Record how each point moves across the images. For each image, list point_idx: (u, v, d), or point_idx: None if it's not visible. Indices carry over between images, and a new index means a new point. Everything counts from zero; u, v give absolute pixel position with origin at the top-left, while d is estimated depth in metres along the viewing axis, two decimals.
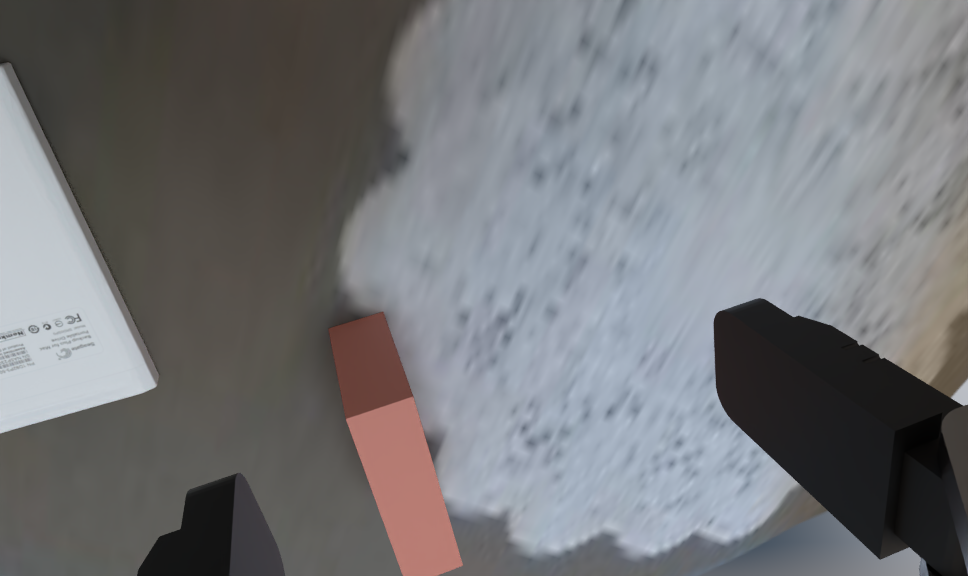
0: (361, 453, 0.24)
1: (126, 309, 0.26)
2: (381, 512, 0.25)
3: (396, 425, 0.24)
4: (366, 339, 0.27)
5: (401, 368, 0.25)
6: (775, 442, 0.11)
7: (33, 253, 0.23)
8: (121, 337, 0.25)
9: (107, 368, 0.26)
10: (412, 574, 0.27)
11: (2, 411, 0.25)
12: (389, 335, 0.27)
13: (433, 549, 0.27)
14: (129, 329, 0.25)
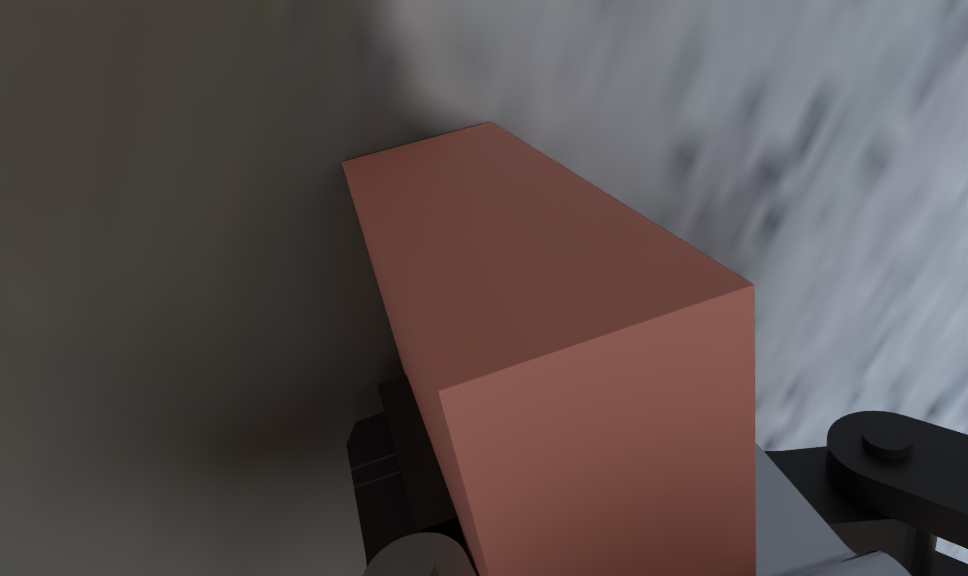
0: (496, 556, 0.05)
1: None
2: None
3: (657, 428, 0.05)
4: (460, 167, 0.09)
5: (625, 210, 0.07)
6: None
7: None
8: None
9: None
10: None
11: None
12: (533, 152, 0.09)
13: None
14: None
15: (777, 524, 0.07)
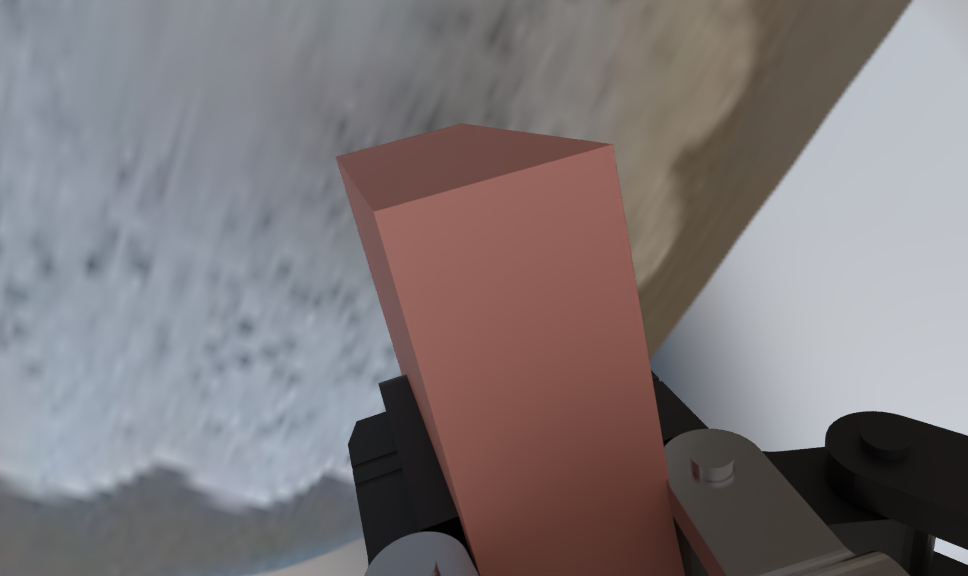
0: (429, 368, 0.07)
1: None
2: None
3: (551, 263, 0.07)
4: (427, 143, 0.11)
5: (541, 136, 0.08)
6: None
7: None
8: None
9: None
10: None
11: None
12: (487, 128, 0.11)
13: None
14: None
15: (775, 524, 0.07)
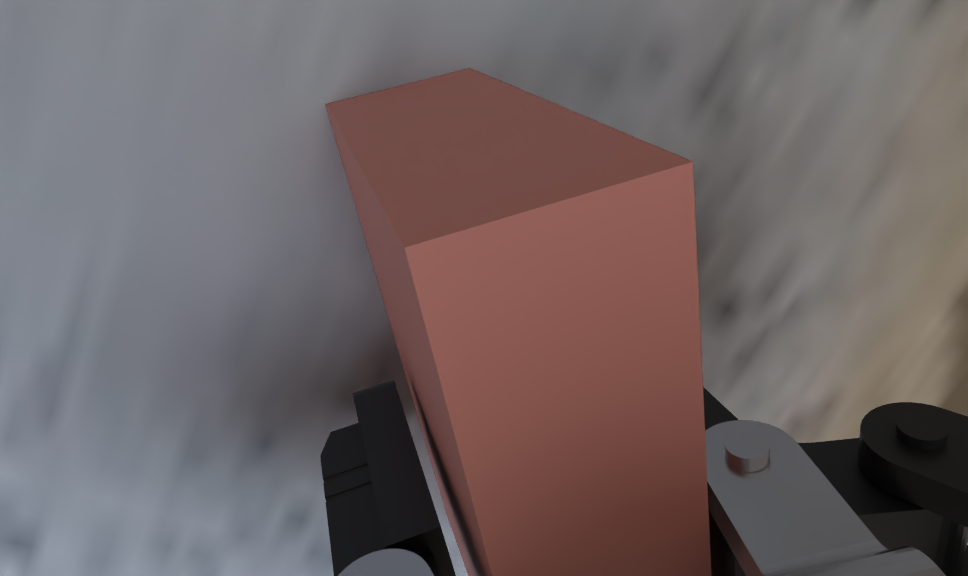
0: (461, 418, 0.06)
1: None
2: None
3: (608, 298, 0.06)
4: (437, 101, 0.09)
5: (585, 120, 0.07)
6: None
7: None
8: None
9: None
10: None
11: None
12: (506, 86, 0.09)
13: None
14: None
15: (809, 516, 0.07)
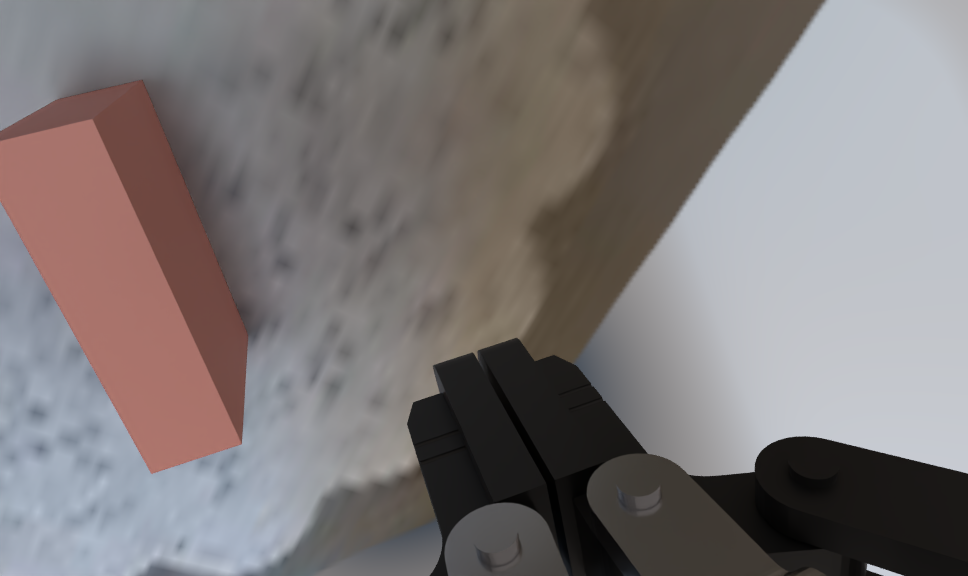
0: (16, 220, 0.15)
1: None
2: (77, 336, 0.16)
3: (71, 173, 0.15)
4: (92, 97, 0.18)
5: (107, 105, 0.16)
6: None
7: None
8: None
9: None
10: (156, 452, 0.18)
11: None
12: (126, 90, 0.18)
13: (185, 410, 0.18)
14: None
15: (708, 548, 0.07)
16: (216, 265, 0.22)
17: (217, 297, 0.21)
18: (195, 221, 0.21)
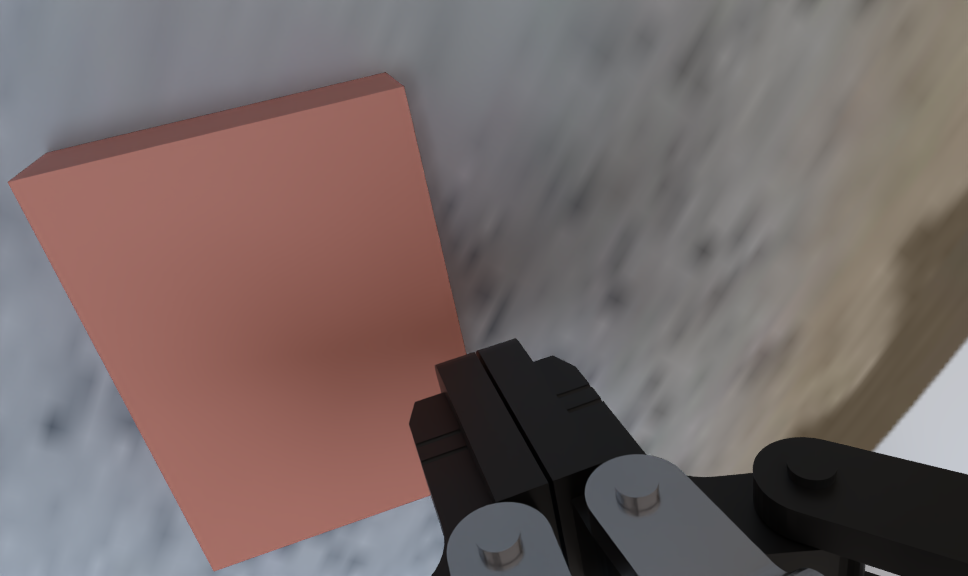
0: None
1: None
2: None
3: None
4: (295, 102, 0.12)
5: (130, 151, 0.11)
6: None
7: None
8: None
9: None
10: None
11: None
12: (283, 114, 0.11)
13: None
14: None
15: (706, 550, 0.07)
16: None
17: (377, 415, 0.14)
18: (415, 311, 0.14)
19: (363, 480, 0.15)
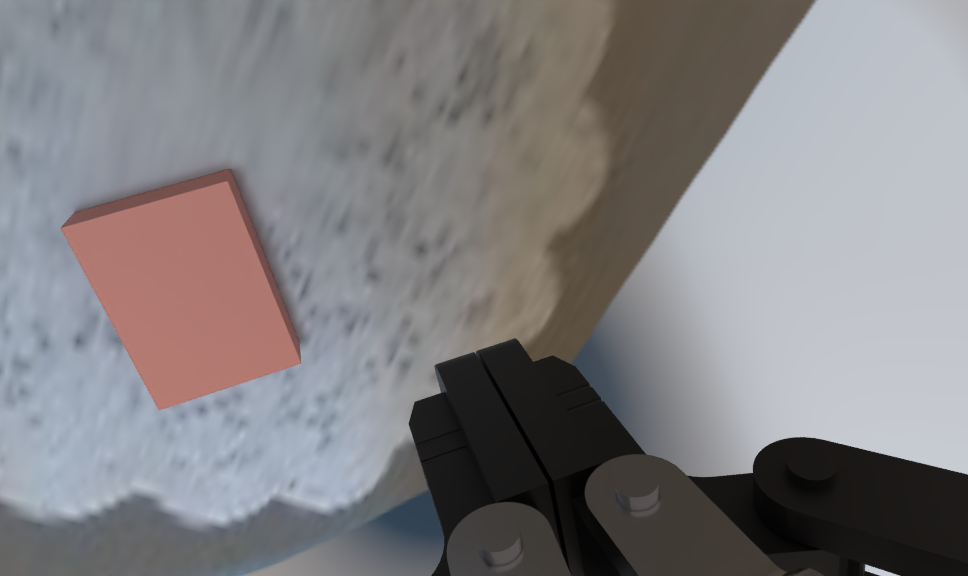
0: None
1: None
2: None
3: None
4: (183, 187, 0.28)
5: (110, 213, 0.27)
6: None
7: None
8: None
9: None
10: None
11: None
12: (174, 195, 0.27)
13: None
14: None
15: (706, 550, 0.07)
16: (269, 311, 0.30)
17: (234, 331, 0.30)
18: (246, 280, 0.29)
19: (230, 365, 0.30)
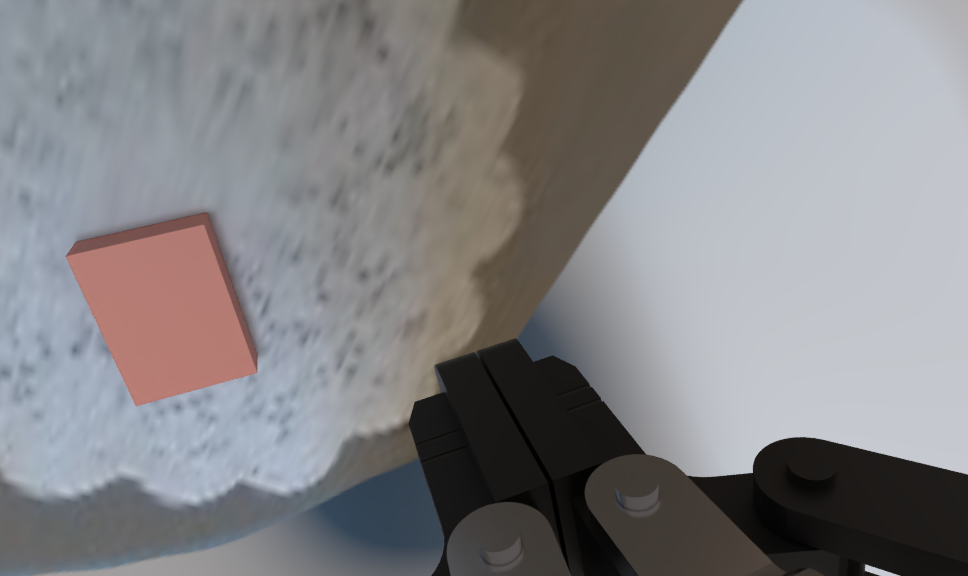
0: None
1: None
2: None
3: None
4: (167, 226, 0.34)
5: (106, 246, 0.33)
6: None
7: None
8: None
9: None
10: None
11: None
12: (160, 234, 0.33)
13: None
14: None
15: (706, 549, 0.07)
16: (232, 329, 0.36)
17: (202, 344, 0.36)
18: (215, 303, 0.36)
19: (198, 371, 0.37)
